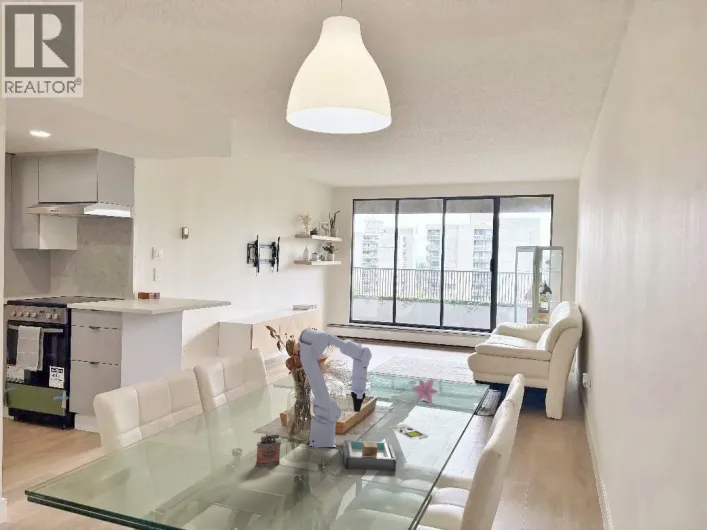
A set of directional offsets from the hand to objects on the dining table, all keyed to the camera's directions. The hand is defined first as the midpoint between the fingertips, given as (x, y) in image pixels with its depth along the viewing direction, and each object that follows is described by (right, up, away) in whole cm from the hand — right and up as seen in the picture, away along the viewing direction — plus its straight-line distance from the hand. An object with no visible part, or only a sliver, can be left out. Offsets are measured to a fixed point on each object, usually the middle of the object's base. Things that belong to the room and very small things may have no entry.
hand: (356, 411), depth 206 cm
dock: (+4, -11, -22) cm, 25 cm away
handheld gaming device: (+21, -11, +8) cm, 25 cm away
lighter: (-30, -9, -31) cm, 44 cm away
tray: (+4, -11, -21) cm, 24 cm away
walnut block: (+4, -10, -24) cm, 27 cm away
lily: (+33, -9, +53) cm, 64 cm away
